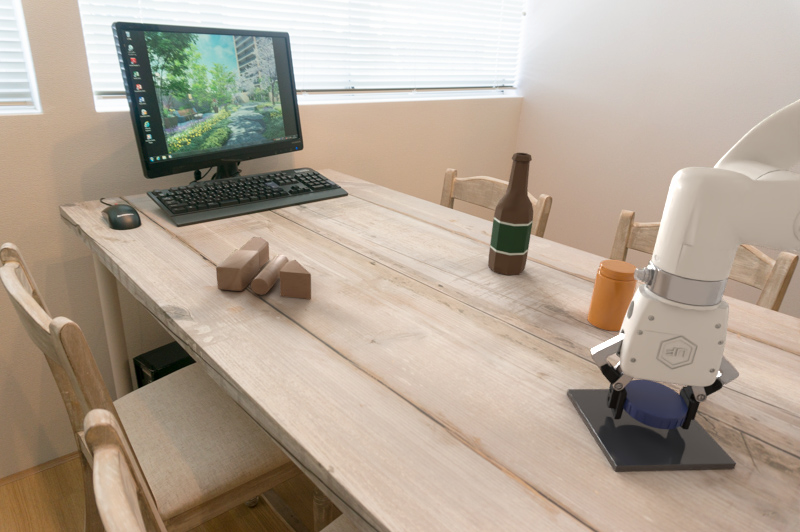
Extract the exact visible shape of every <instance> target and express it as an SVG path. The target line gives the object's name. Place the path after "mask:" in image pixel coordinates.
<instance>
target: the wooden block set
mask: <svg viewBox="0 0 800 532" xmlns="http://www.w3.org/2000/svg"><path fill="white" fill-rule="evenodd" d="M269 260H270V244H269V242H268V240H266V239H264V238H263V237H262V236H261V237H259V236H252V237H251V238H250V239H249V240H248V241H246V242H245V244H243V245H242V246H241V247H240V248H237V249H235V250H234V251H232V252H231V253H230V254H229V255H227V256H226V257H225V258H224V259H223V260H222V261H220V262H219V263H218V264H217V265H216V267H215V270H216V271H215V272H216V283H217V290H220V291H230V292H231V291H232V292H243V291H244V290H245V289H246V288H247V287H248V285H250V289H251V291H253V293H254V294H257V295H261V296H262V295H263V296H264V295H266V294H267V293H268V292H269V291H270V290H271V288H272V287H273V286H274V285H275V284H276V283H277V281H278V280H279V294H280V297H284V298H293V299H294V298H295V299H305V300H306V299H307V300H312V274H311V272H309V271H308V270H307V269H306V268H305V267H304V266H303V265H302V264H301V263H300V262H299V261H297V260H296V259H291V260H289V258H288V257H287V256H286V255H285V254H280V253H279V254H276V255H274V256H273V257H272V259H271V260H270V261H269ZM267 262H268V263H267ZM266 263H267V264H266ZM265 264H266V265H265Z"/></svg>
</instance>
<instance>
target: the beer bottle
mask: <svg viewBox="0 0 800 532" xmlns="http://www.w3.org/2000/svg"><path fill="white" fill-rule="evenodd" d="M511 160H512V163H511V170H510V174H509V178H508V185H507V188H506V191H505V193H504V195H503V196H502V197H501V198H500V200H499V201H498V203H497V205H496V207H495V209H494V214H493V221H492V227H491V236H490V245H489V252H488V260H487V261H488V262H487V266H488V268H489V269H490V270H491V271H492V272H493V273H497V274H500V275H505V276H517V275H518V276H519V275H521V274H522V273H523V272H524V271H525V270H526V265H527V260H528V253H529V247H530V242H531V241H530V240H531V234H532V228H533V223H534V222H533V221H534V207H533V203H532V201H531V200H530V197H529V194H528V192H529V191H528V187H529V176H530V175H529V173H530V163H531V161H532V155H531V154H529V153H528V152H515V153H513V155H512V157H511Z"/></svg>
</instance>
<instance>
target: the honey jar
mask: <svg viewBox="0 0 800 532" xmlns="http://www.w3.org/2000/svg"><path fill="white" fill-rule="evenodd" d="M598 267H599V268H597V270H596V274H595V278H594V283H593V287H592V293H591V297H590V303H589V307H588V310H587V311H588V312H587V316H586V320H587V321H588V323H589V324H590V325H592V326H594V327H595V328H598V329H601V330H604V331H610V332H620V329H621V326H622V323H623V321H624V318H625V315H626V312H627V310H628V307H629V305H630V303H631V301H632V299H633V297H634V295H635V293H636V290H637V285H638V281H639V280H635V279H634V272H635V269H636V268H638V267H637V266H636V265H635V264H632V263H631V262H627V261H623V260H620V259H619V260H618V259H605V260H601V261H600V262H599V266H598Z"/></svg>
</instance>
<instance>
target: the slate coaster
mask: <svg viewBox="0 0 800 532" xmlns="http://www.w3.org/2000/svg"><path fill="white" fill-rule="evenodd" d="M566 390H567V391H566V396H568V398H569V400H570V402H571V403H572V405H573V407H574V408H575V410H576V411H577V413H578V415H579V416H580V418H581V419H582V421H583V422H584V424H585V426H586V427H587V429H588V430H589V432H590V434H591V435H592V437H593V438H594V440H595V442H596V443H597V445H598V447H599V448H600V450H601V451H602V453H603V454H604V456H605V458H606V460H607V461H608V463H609V464H610V466H611V468H612V469H613V470H614V472H646V471H647V472H648V471H649V472H651V471H652V472H653V471H654V472H655V471H693V470H694V471H695V470H696V471H697V470H699V471H700V470H734V469H735V468H736V465H737V463H736V461H735V460H734V459H733V458H732V457H731V456H730V455H729V453H727V451H726V450H725V449H723V447H722V446H721V445H720V444H719V443H718V442H717V441H716V440H715V438H713V436H712V435H711V434H710V433H709V432H708V431H707V430H706V429H705V428H704V427H703V426H702V425H701V424H700V423H699V421H698V420H696V418H695V419H694V420H691V423H690V426H689V429H688V430H686V429H682V428H681V427H680V426H679V427H677V428H674V429H658V428H654V427H650V426H648V425H645V424H643V423H641V422H639V421H637V420H635V419H634V418H633V417H631V416H630V415H629V414H628V413H627V412H626V411H625V410H624V409H623V412H622V416H621V419H619V420H618V419H614V417H613V414H612V411H611V408H608V407H607V396H608V391H609V388H582V389H581V388H577V389H576V388H571V389H570V388H569V389H566Z"/></svg>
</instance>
